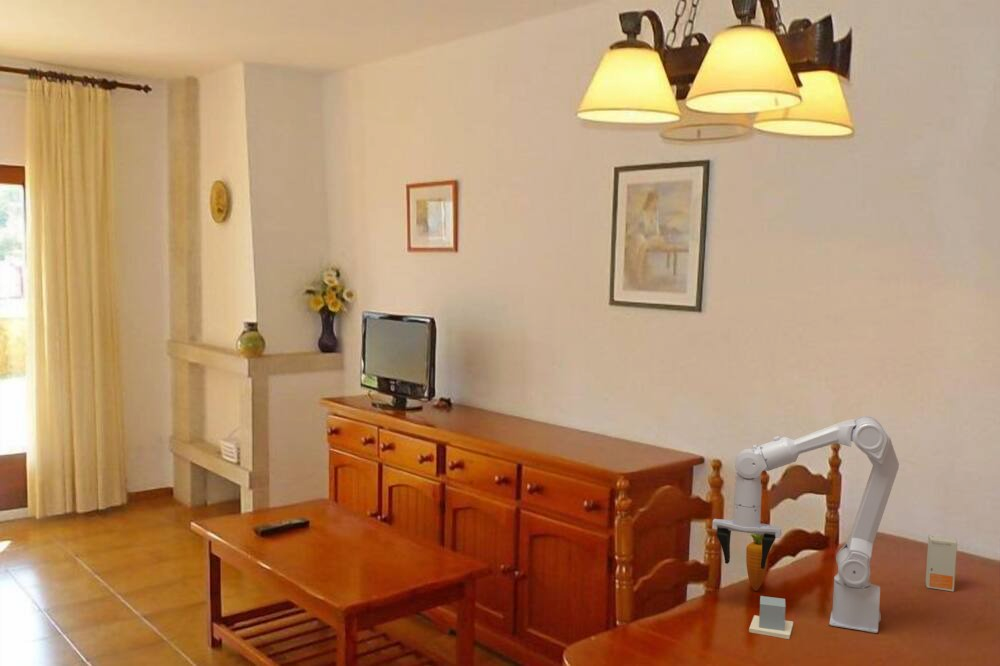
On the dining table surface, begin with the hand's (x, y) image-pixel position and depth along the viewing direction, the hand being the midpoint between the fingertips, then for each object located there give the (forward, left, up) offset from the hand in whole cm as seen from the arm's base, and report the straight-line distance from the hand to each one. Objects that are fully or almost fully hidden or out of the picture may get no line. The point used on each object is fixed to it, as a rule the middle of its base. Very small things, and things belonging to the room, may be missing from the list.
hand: (745, 564), depth 196 cm
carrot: (-1, -13, -10) cm, 16 cm away
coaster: (-7, +9, -10) cm, 15 cm away
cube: (-7, +9, -9) cm, 15 cm away
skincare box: (-41, -36, -10) cm, 55 cm away
